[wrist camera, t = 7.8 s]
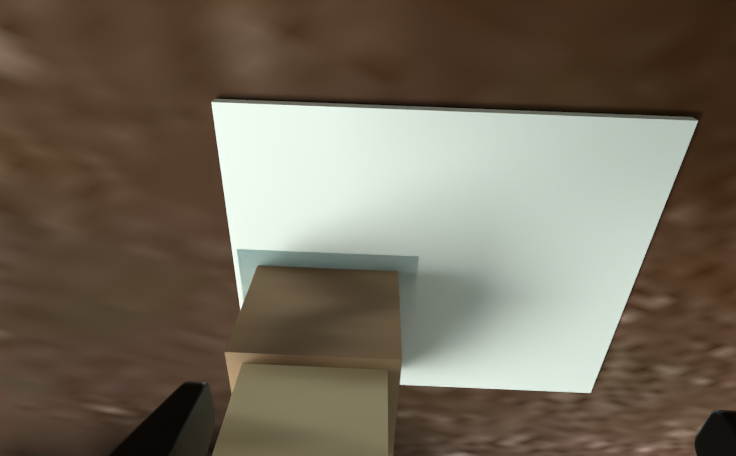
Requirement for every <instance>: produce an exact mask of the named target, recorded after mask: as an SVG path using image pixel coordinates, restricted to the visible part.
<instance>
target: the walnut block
mask: <svg viewBox="0 0 736 456" xmlns="http://www.w3.org/2000/svg"><path fill="white" fill-rule="evenodd" d="M225 357H226V363H227V369H228V374H229V380H230V386H231V392H232V393H233V390H234V387H235V384H236V381H237V378H238V374H239V371H240V368H241V365H242V363H247V364H269V365H291V366H313V367H335V368H356V369H378V370H388V456H393V451H394V441H395V430H396V419H397V408H398V398H399V387H400V376H401V365H402V347H401V322H400V298H399V274H398V271H382V270H358V269H333V268H309V267H285V266H260V265H257V268H256V271H255V273H254V276H253V278H252V281H251V284H250V286H249V289H248V292H247V294H246V297H245V300H244V302H243V305H242V308H241V310H240V313H239V315H238V318H237V321H236V323H235V326H234V329H233V331H232V334H231V337H230V339H229V342H228V345H227V347H226V350H225Z"/></svg>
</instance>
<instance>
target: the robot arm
mask: <svg viewBox="0 0 736 456" xmlns="http://www.w3.org/2000/svg"><path fill="white" fill-rule="evenodd" d="M215 416H216V412H215V407H214V402H213V398H212V394H211V390H210V386H209V385H208V384H207V383H206V382H193V381H188V382H185V383H183V384H182V385H181V386H180V387H179V388H178V389H177V390H175V391H174V392H173V393H172V394H171V395H170V396H169V397H168V398H167V399H166V400H165V401H164V402H163V403H162V404H161V405H160V406H159V407H158V408H157V409H156V410H155V411H154V412H153V413H151V414H150V415H149V416H148V417H147V418H146V419H145V420H144V421H143V422H142V423H141V424H140V425H139V426H138V427H137V428H136V429H135V430H134V431H133V432H132V433H131V434H130V435H128V436H127V437H126V438H125V439H124V440H123V441H122V442H121V443H120V444H119V445H118V446H117V447H116V448H115V449H114V450H113V451H112V452H111V453H110V454H109V455H108V456H207V454H208V449H209V445H210V441H211V437H212V433H213V428H214V424H215ZM695 450H696V454H697V456H736V411H728V410H715V411H713V412H711V414H710V415H709V416H708V418H707V420H706V421H705V423H704V424H703V426H702V428H701V429H700V431H699V432H698V434H697V436H696V438H695Z"/></svg>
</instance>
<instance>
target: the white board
mask: <svg viewBox="0 0 736 456" xmlns="http://www.w3.org/2000/svg"><path fill="white" fill-rule="evenodd" d="M212 110H213V117H214V124H215V131H216V138H217V146H218V153H219V160H220V167H221V174H222V181H223V189H224V196H225V203H226V210H227V217H228V225H229V232H230V239H231V246H232V253H233V260H234V268H235V275H236V282H237V289H238V296H239V304H240V310H241V308H242V305H243V302H244V300H245V297H246V294H247V292H248V289H249V286H250V284H251V281H252V278H253V276H254V273H255V271H256V268H257V265H260V266H285V267H309V268H333V269H358V270H382V271H398V274H399V298H400V322H401V347H402V365H401V376H400V385H419V386H442V387H465V388H488V389H511V390H534V391H557V392H580V393H591V391H592V388H593V385H594V383H595V380H596V378H597V375H598V373H599V370H600V368H601V365H602V363H603V360H604V358H605V355H606V353H607V350H608V348H609V345H610V343H611V340H612V337H613V335H614V332H615V330H616V327H617V325H618V322H619V320H620V317H621V315H622V312H623V310H624V307H625V305H626V302H627V300H628V297H629V295H630V292H631V289H632V287H633V284H634V282H635V279H636V277H637V274H638V272H639V269H640V267H641V264H642V262H643V259H644V257H645V254H646V252H647V249H648V247H649V244H650V241H651V239H652V236H653V234H654V231H655V229H656V226H657V224H658V221H659V219H660V216H661V214H662V211H663V209H664V206H665V204H666V201H667V199H668V196H669V193H670V191H671V188H672V186H673V183H674V181H675V178H676V176H677V173H678V171H679V168H680V166H681V163H682V161H683V158H684V156H685V153H686V151H687V148H688V145H689V143H690V140H691V138H692V135H693V133H694V130H695V128H696V125H697V123H698V120H696V119H695V118H693V117H679V116H653V115H627V114H601V113H575V112H548V111H522V110H496V109H470V108H444V107H418V106H391V105H365V104H339V103H313V102H287V101H261V100H234V99H214V100H213V101H212Z"/></svg>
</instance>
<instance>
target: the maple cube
mask: <svg viewBox="0 0 736 456" xmlns="http://www.w3.org/2000/svg"><path fill="white" fill-rule="evenodd" d="M212 456H388V370H378V369H356V368H335V367H313V366H291V365H269V364H247V363H242V365H241V368H240V371H239V374H238V378H237V381H236V384H235V387H234V390H233V393H232V396H231V399H230V402H229V405H228V408H227V411H226V414H225V417H224V420H223V423H222V426H221V429H220V432H219V435H218V438H217V441H216V445H215V448H214V451H213V454H212Z"/></svg>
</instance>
